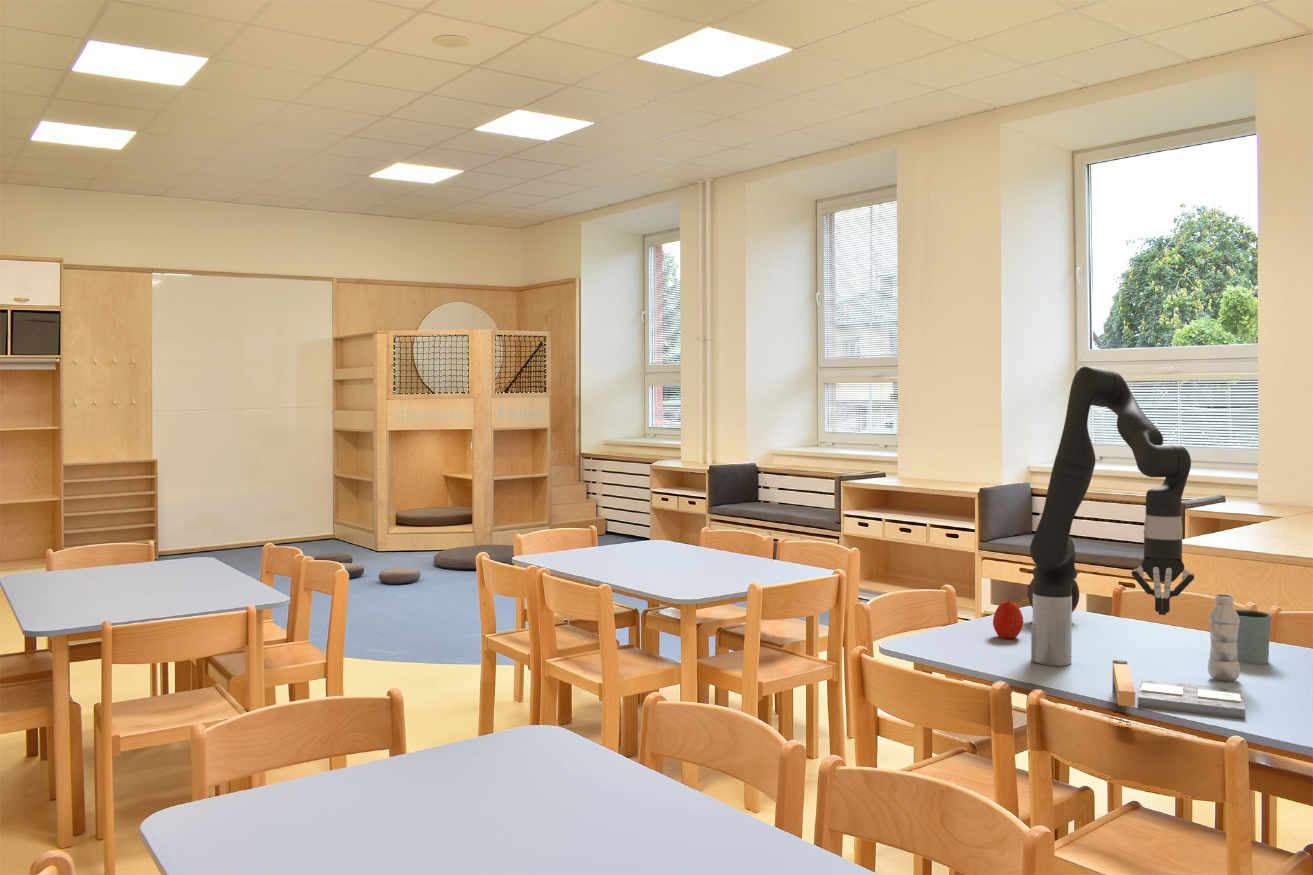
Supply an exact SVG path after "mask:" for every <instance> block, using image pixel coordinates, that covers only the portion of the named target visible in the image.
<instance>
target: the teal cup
mask: <svg viewBox="0 0 1313 875" xmlns="http://www.w3.org/2000/svg"><path fill="white" fill-rule="evenodd" d="M1235 611H1236V612H1237V614H1238V615H1239V618H1240V623H1239V629H1238V635H1237V655H1238V662H1239V664H1240V663H1241V664H1248V665H1266V664H1268V663H1269V658H1270V650H1269V648H1270V643H1271V641H1270V635H1271V626H1272V624H1271V623H1272V614H1270V613H1268V612H1266V611H1265V612H1264V611H1258V610H1248V609H1235Z"/></svg>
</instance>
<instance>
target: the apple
mask: <svg viewBox="0 0 1313 875" xmlns="http://www.w3.org/2000/svg"><path fill="white" fill-rule="evenodd" d="M992 626H993V629H994V632H995V633H996V634H997V636H998V638H1001V639H1002V640H1003V639H1004V640H1012V639H1015V638H1017V637H1018V636H1019V635H1020V634H1021V632H1022V629H1023V627H1024V617H1023V613H1022V611H1021V609H1020V607H1019V605H1018V604H1016V603H1015V602H1013V601H1010V600H1009V599H1008V601H1002V602H1001V603H1000V604H999V605H998V606H997V607H996V610H995V612H994V614H993V620H992Z"/></svg>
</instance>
